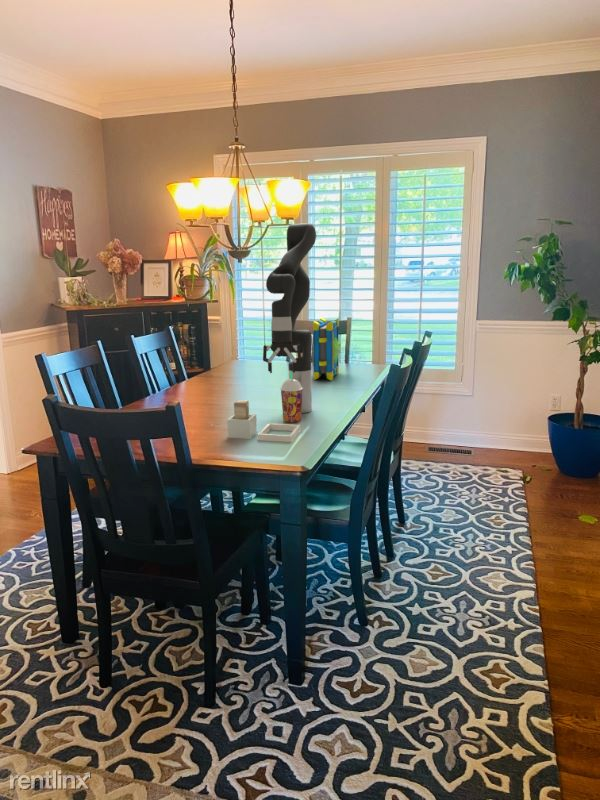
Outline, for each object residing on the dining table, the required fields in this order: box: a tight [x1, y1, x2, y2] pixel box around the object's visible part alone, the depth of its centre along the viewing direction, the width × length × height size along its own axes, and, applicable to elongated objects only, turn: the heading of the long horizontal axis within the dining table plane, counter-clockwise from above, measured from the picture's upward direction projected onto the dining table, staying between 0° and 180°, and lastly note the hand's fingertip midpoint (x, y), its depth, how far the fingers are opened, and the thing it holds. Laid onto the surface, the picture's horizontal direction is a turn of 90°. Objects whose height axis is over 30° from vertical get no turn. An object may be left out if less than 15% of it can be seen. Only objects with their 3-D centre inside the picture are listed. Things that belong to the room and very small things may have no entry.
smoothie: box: [280, 371, 303, 424], centre depth 222 cm, size 8×8×20 cm
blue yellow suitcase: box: [312, 317, 341, 382], centre depth 306 cm, size 14×23×30 cm, turn 166°
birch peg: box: [233, 399, 250, 420], centre depth 205 cm, size 4×4×12 cm
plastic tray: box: [256, 423, 302, 443], centre depth 206 cm, size 14×12×3 cm
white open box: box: [226, 413, 258, 440], centre depth 206 cm, size 8×8×8 cm
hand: (282, 372), depth 220 cm, fingers open, 8 cm apart
